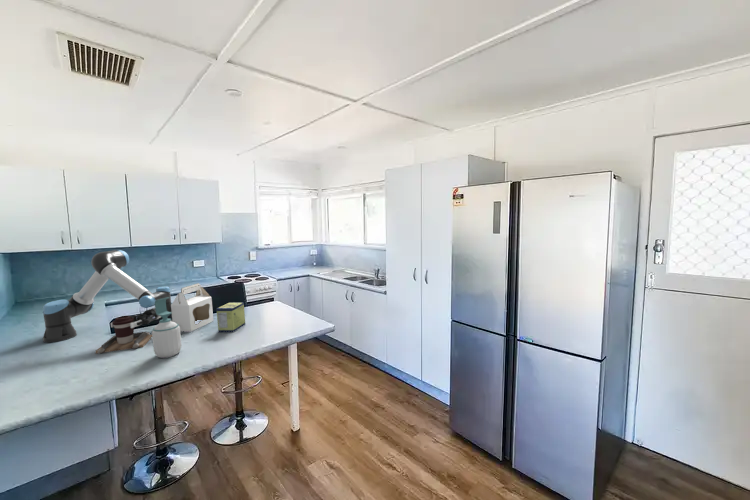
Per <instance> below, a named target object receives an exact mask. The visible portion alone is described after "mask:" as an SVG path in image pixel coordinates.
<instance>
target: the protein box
mask: <svg viewBox="0 0 750 500" xmlns="http://www.w3.org/2000/svg"><path fill="white" fill-rule="evenodd" d="M216 317H217V319H216V320H217V329H218V331H217V332H218V333H235V332H236V331H238V330H239V329H241V328H242V327H244V326H246V315H245V303H244V302H241V301H240V302H235V301H233V302H228V303H226V304H224V305H221V306H219V307H216Z"/></svg>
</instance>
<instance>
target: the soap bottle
mask: <svg viewBox="0 0 750 500" xmlns="http://www.w3.org/2000/svg"><path fill="white" fill-rule="evenodd" d="M168 298H170V297H166V298H162V299H158V300H156V301H155V305H154V308H155V310H156V314H157V315H159V316H161V318H162V319H160V320H159V323H158V324H157V325H155V326H154V327H153V328H152V331H151V335H152V344H153V353H154V354H155V356H156V358H160V359H161V358H162V359H167V358H171V357H174V356H177V354H179V353H180V352H181V349H182V337H181V331H180V327H179V326H178V325H179V324H177V323H175V322H173V321H172V318H168V317H169V316H170V315H172V312H168V311H167V309H166V299H168ZM169 314H170V315H169Z"/></svg>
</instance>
